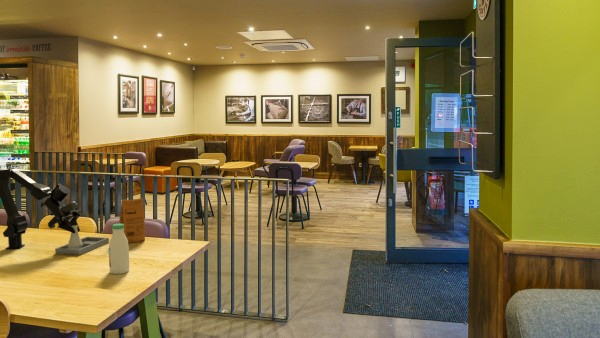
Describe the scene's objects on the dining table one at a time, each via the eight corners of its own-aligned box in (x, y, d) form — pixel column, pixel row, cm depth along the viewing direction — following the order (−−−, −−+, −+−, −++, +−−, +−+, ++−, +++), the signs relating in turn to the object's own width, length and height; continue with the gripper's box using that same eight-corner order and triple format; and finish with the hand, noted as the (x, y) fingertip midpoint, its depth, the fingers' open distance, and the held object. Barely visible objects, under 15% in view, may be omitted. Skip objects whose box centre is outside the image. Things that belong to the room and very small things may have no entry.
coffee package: (118, 240, 251) (116, 198, 249) (142, 237, 258) (141, 196, 255) (121, 244, 243) (120, 201, 241) (146, 241, 249) (145, 199, 247)
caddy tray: (55, 253, 225) (55, 248, 225) (87, 241, 248) (86, 236, 248) (79, 255, 223) (79, 250, 222) (109, 242, 246) (108, 237, 246)
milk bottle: (133, 269, 202) (131, 223, 200) (120, 275, 195) (119, 227, 193) (118, 267, 205) (116, 221, 203) (105, 273, 198) (103, 225, 195)
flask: (81, 247, 227) (80, 227, 226) (65, 249, 225) (63, 228, 224) (85, 244, 234) (84, 224, 233) (69, 245, 233) (68, 224, 232)
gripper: (52, 200, 219) (74, 225, 218) (78, 193, 237) (99, 217, 236) (37, 216, 221) (60, 241, 220) (64, 208, 239) (85, 231, 238)
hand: (77, 231), depth 229 cm, fingers closed on flask, 3 cm apart
